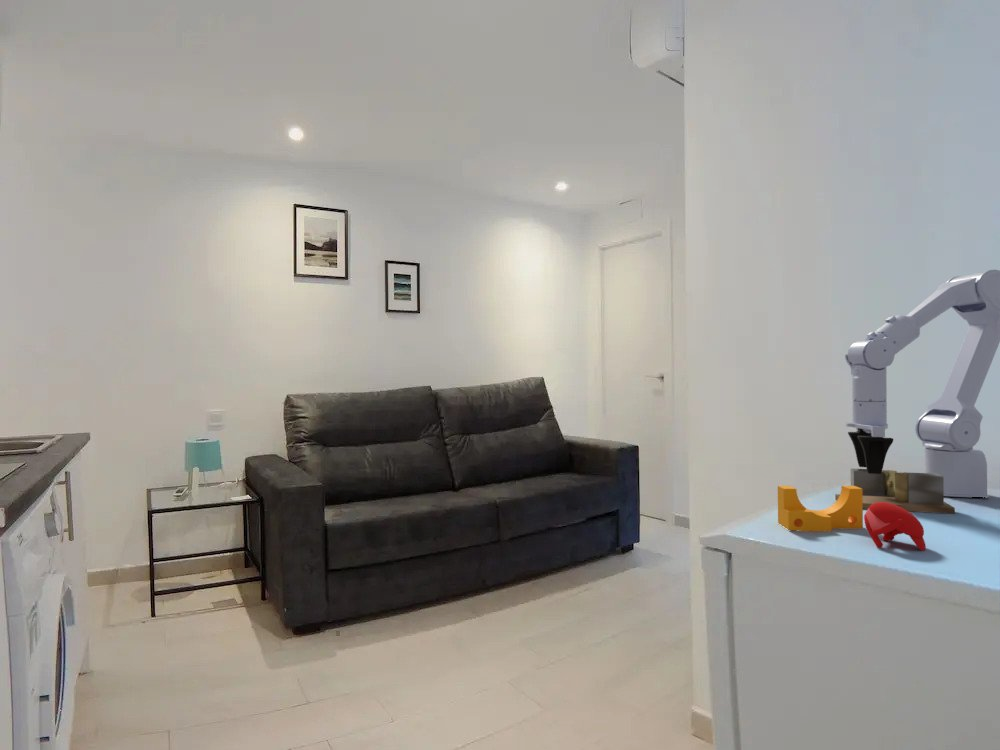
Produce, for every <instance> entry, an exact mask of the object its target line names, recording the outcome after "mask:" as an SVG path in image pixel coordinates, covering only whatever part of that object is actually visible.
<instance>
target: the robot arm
mask: <svg viewBox="0 0 1000 750" xmlns="http://www.w3.org/2000/svg"><path fill="white" fill-rule="evenodd" d="M951 308H952V309H953V310H954V311H955V312H956V313H957V314H958V315H959V316H960V317H961V318H962V319H963V320H964V321H967V324H968V329H967V331H966V334H965V335H964V338H963V341H962V342H961V343H962V344H961V346H960V349H959V351H958V354H957V355H956V357H955V361H954V364H953V366H952V368H951V371H950V374H949V376H948V379H947V380H946V384H945V386H944V388H943V391H942V393H941V395H940V397H939V398H938V399H936V400H935V401H933V402H931V403H929V404H928V405H927V407H926V410H925V411H924V413H923V414H922V415H921V416H920V417H919V418H918V419H917V421H916V423H915V427H914V428H915V429H914V431H915V434H916V436H917V438H918V439H919V440H920V441H921V442H922V447H924V473H934V474H939V475H941V476H943V484H944V497H952V498H953V497H954V498H955V497H957V498H972V497H983V498H982V499H989V498H990V496H989V495H988V463H987V458H986V455H985V453H984V452H983V451H982V450H980V449H974V447H975V445H977V444H978V442H979V440H980V437H981V423H982V420H983V417H984V416H983V414H981V413H980V411H979V410H978V409H977V407H976V406H975V404H976V402H977V400H978V397H979V396H980V395H979V394H980V392H981V391H982V390H981V389H982V387H983V385H984V383H985V380H986V378H987V374H988V373H989V370H990V367H991V366H992V362H993V360H994V358H995V355H996V353H997V350H998V347H999V345H1000V270H998V269H987V270H986V271H982V272H977V273H971V274H968V275H960V276H959V275H956V276H952V277H951V278H949V279H948V280H947V281H946V282H944V283H942V284H940V285H939V286H938V287H937V289H936V290H935V291H934V292H933V293H932V294H930V295H929V296H928V297H926V299H924V300H923V301H922V302H920V304H918V305H917V306H915V308H913V309H912V310H911V311H910V312H909V313H908V314H906V315H902V314H898V315H893V316H889V317H887V318H885V320H884V322H885V323H884V324H883V325H881V326H880V327H879V328H877V329H876V330H874V331H869V333H867V334H866V338H865V339H864V340H858V341H855V342H853V343H852V344H851V345H850V346H849V349H848V351H847V353H846V354H845V355H844V357H845V358H844V359H845V360H846V364H847V365H849V367H850V375H851V376H852V379H851V380H852V384H851V385H852V389H851V391H852V394H851V395H852V422H845V427H847V428H854V429H855V430H856V431H848V432H847V434H848V436H849V438H850V440H851V442H852V445H853V448H854V452H855V457H856V461H857V464H858V468H865V469H867V471H868V473H872V474H881V472H882V470H884V469H883V468H884V464H885V461H886V456H887V453H888V451H889V449H890V447H891V446H892V444H893V442H894V438H892V437H886V432H885V431H886V430H887V429H888V428H889V424H888V423H887V421H888V420H887V418H888V417H887V416H888V415H887V414H888V413H887V412H888V410H887V408H888V407H887V406H888V405H887V404H888V403H887V395H888V393H887V391H888V389H887V368H888V367H889V366H891V365H892V364H893V362H894V359H895V355H897V354H898V353H900V352H901V351H903V350H904V349H905V348H906V347H907V346H909V345H910V344H912V343H913V342H914V341H915V340H917V339H918V338H919V337H920V333H921V328H922V327H924V326H925V325H927V324H928V323H930V322H931V321H933V320H934V319H936V318H937V317H938V316H941V314H943V313H945V312H946V311H948V310H949V309H951ZM984 497H985V498H984ZM988 497H989V498H988Z"/></svg>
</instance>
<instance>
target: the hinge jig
mask: <svg viewBox="0 0 1000 750" xmlns="http://www.w3.org/2000/svg"><path fill="white" fill-rule="evenodd" d="M834 496H835V498H834V499H835V502H836V501H837V499H838V498H839V496H840V494H838V493H835V494H834ZM944 497H945V496H944V484H943V476H941V475H939V474H934V473H925V472H897V473H895V497H881V496H863V510H864V509H865V510H868V508H869V507H870V505H872V504H874V503H877V502H886V503H891V504H894V505H897V506H899V507H901V508H903V509H905V510H907V511H908V512H913V513H915V512H916V513H932V514H933V513H934V514H938V513H939V514H955V513H956V508H955V507H954V506H952V505H950V503H948V502H945V501H944Z"/></svg>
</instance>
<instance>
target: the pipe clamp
mask: <svg viewBox="0 0 1000 750" xmlns="http://www.w3.org/2000/svg"><path fill="white" fill-rule="evenodd" d="M863 511H864V509H863V495H862V488H859V487H856V486H851V485H841V490H840V496H839V498H838V499H837V501H836V500H835V502H834V503H833V504H831V505H830V506H828V507H827V508H823V509H820V510H818V509H817V510H812V509H808V508H806V507H805V506H804V505H803V504H802V502H801V501H800V499H799V497H798V492H797V488H796V487H793V486H791V485H777V524H778V523H779V524H781V525H782V526H784V527H785V528H787V529H788V530H801V531H800V532H832V530H833V529H838V530H839V529H843V530H845V529H848V530H849V529H856V530H858V529H861V530H862V529H864V514H863V513H864V512H863ZM779 524H778V525H779ZM782 526H781V527H782ZM785 528H784V529H785ZM788 530H787V531H788Z"/></svg>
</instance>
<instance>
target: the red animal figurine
mask: <svg viewBox="0 0 1000 750" xmlns="http://www.w3.org/2000/svg"><path fill="white" fill-rule="evenodd" d="M863 522H864V524H865V525H864V526H865V528H866V530H867V533H868V534H869V536H870V537H871V539H872V542H874V544H875V546H876V547H877V548H882V547H883V545H884V544H883V542H882V540H883V541H884V542H888V541H894V539H895V537H896V536H897V535H902V534H903V535H907V536H909V537H910V539H911V540H912V542H913V543H914V544H915V545H916V546H917V547H918V548H919V549H920V550H921V551H922V552H926V550H927V549H926V547H927V546H926V542H925V539H924V535H925V530H924V529H925V528H924V527H923V525H922V523H921V522H920V520H919V519H918V518H917V517H916V516H915V515H914V514H913V513H912V512H911V511H907V510H905V509H903V508H901V507H899V506H897V505H894V504H891V503H886V502H877V503H874V504H872V505H870V507H869V508H868V509H866V511H865V513H864V514H863ZM879 535H883V536H882V540H881V538H880V537H879Z"/></svg>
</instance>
